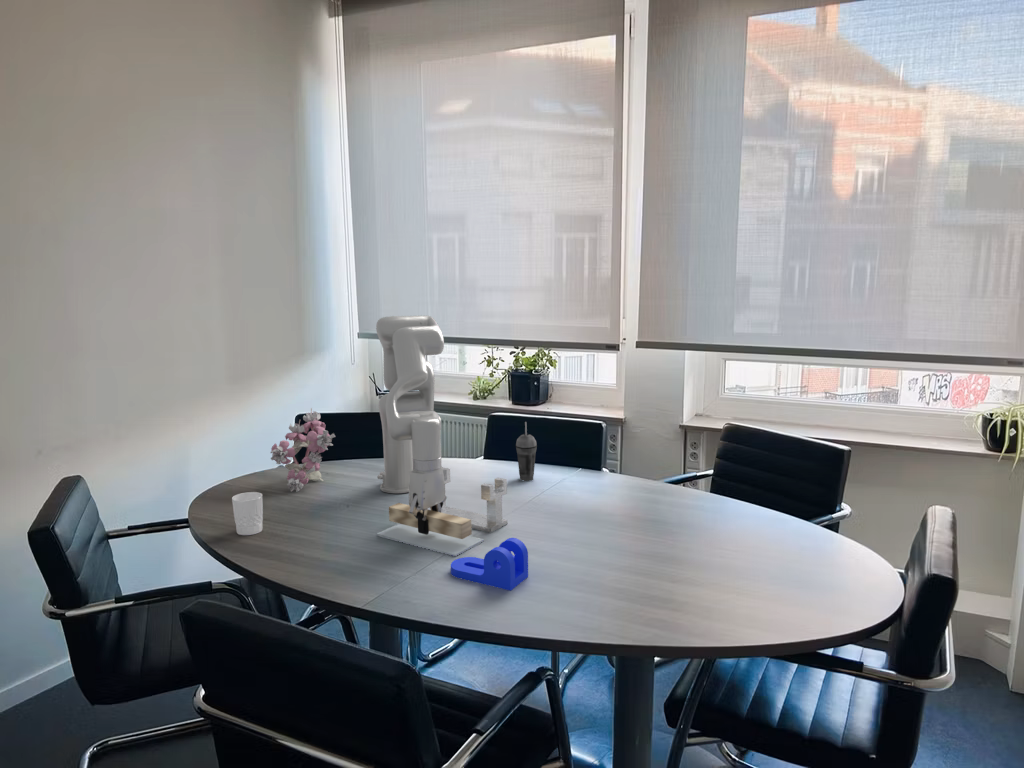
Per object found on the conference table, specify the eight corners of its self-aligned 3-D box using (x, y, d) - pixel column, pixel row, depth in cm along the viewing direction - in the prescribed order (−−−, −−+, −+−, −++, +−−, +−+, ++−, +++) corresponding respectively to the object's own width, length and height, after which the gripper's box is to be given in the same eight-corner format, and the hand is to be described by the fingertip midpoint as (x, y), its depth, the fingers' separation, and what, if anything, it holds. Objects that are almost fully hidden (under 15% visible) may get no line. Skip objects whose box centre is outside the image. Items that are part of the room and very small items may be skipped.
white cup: (271, 528, 202) (268, 493, 201) (250, 538, 195) (247, 502, 194) (249, 524, 206) (247, 490, 204) (228, 534, 199) (225, 498, 197)
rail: (389, 520, 198) (388, 506, 198) (399, 516, 201) (398, 502, 201) (462, 539, 184) (461, 524, 184) (471, 534, 188) (471, 519, 187)
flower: (250, 479, 244) (256, 419, 231) (307, 458, 260) (316, 402, 248) (284, 515, 234) (292, 454, 222) (341, 491, 251) (352, 434, 238)
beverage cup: (538, 476, 249) (537, 419, 246) (536, 482, 242) (536, 423, 238) (516, 475, 250) (516, 418, 246) (514, 482, 242) (514, 423, 239)
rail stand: (425, 517, 210) (424, 473, 207) (443, 509, 216) (442, 467, 214) (490, 532, 197) (490, 486, 195) (507, 523, 203) (506, 479, 201)
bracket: (528, 577, 169) (527, 540, 168) (510, 591, 162) (510, 553, 161) (463, 562, 178) (462, 527, 176) (444, 575, 171) (442, 539, 169)
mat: (376, 535, 196) (376, 533, 196) (406, 522, 206) (406, 520, 206) (455, 556, 181) (455, 554, 181) (483, 541, 191) (483, 539, 191)
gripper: (436, 454, 199) (438, 518, 202) (394, 469, 185) (397, 537, 188) (458, 458, 195) (459, 523, 198) (416, 474, 181) (419, 543, 184)
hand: (429, 529), depth 193 cm, fingers closed on rail, 4 cm apart
